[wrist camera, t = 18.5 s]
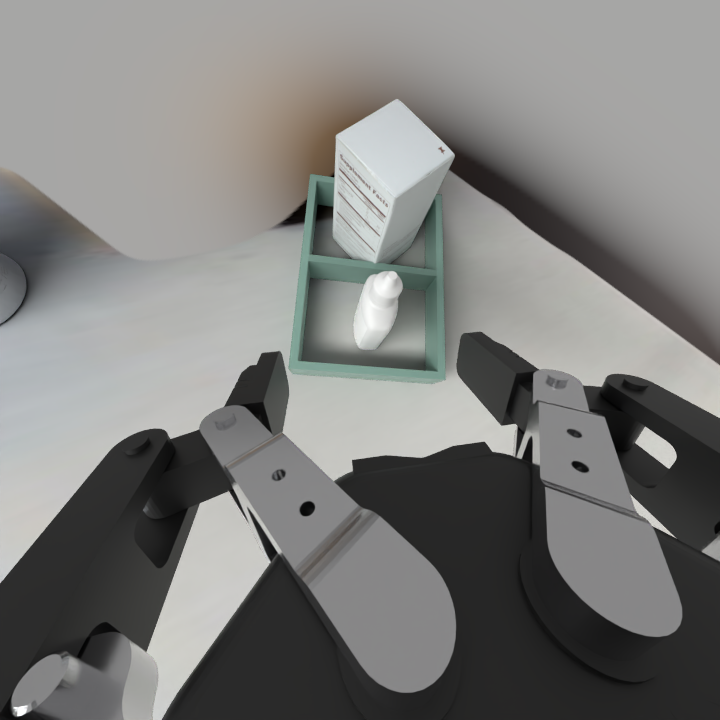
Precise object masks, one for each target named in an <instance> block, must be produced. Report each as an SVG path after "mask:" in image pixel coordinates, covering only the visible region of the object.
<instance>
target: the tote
mask: <svg viewBox="0 0 720 720" xmlns="http://www.w3.org/2000/svg"><path fill="white" fill-rule="evenodd" d="M334 181H335V178H333V177H327V176H320V175H314V174H310V182H309V190H308V199H307V208H306V217H305V226H304V234H303V243H302V252H301V261H300V270H299V279H298V288H297V297H296V306H295V315H294V323H293V332H292V341H291V350H290V359H289V370H290V371H291V373H292V374H298V375H313V376H327V377H341V378H355V379H370V380H384V381H398V382H412V383H427V384H433V383H437V382H440V381H443V380H446V379H445V330H444V280H443V230H442V195H440V194H436V196H435V198H434V200H433V202H432V204H431V206H430V208H429V210H428V212H427V214H426V216H425V218H424V220H425V268H417V267H409V266H400V265H392V264H384V263H376V264H375V263H373V262H368V261H360V260H352V259H344V258H336V257H328V256H319V255H312V253H313V243H314V233H315V223H316V214H317V204H319V205H325V206H332V207H334ZM384 271H394V272H396V273H397V275H398V276H399V277H400V279H401V281H402V285H403V288H406V289H415V290H424V291H425V357H426V371H423V370H409V369H396V368H383V367H370V366H357V365H344V364H331V363H318V362H304V361H302V351H303V341H304V331H305V321H306V312H307V302H308V292H309V282H310V278H318V279H327V280H336V281H344V282H353V283H362V284H365V282H366V280H367V279H368V277H369V276H370V275H373V274H379V273H380V272H384Z"/></svg>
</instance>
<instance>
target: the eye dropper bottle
mask: <svg viewBox="0 0 720 720" xmlns="http://www.w3.org/2000/svg"><path fill="white" fill-rule="evenodd" d="M402 289H403V285H402V281H401V279H400V277H399V276H398V275H397V273H396V272H394V271H384V272H380V273H379V274H373V275H370V276H369V277H368V279H367V280H366V282H365V284H364V287H363V290H362V293H361V296H360V300H359V303H358V306H357V310H356V313H355V317H354V323H353V332H354V337H355V341H356V344H357V346H358V347H359V348H360V349H362V350H375V349H377V348H378V346H379V345H380V344H381V342H382V341H383V340H384V339H385V337H386V336H387V334H388V333H389V332H390V330H391V328H392V327H393V324H394V322H395V319H396V316H397V311H398V297H399V295H400V294H401V292H402Z"/></svg>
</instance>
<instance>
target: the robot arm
mask: <svg viewBox="0 0 720 720" xmlns="http://www.w3.org/2000/svg"><path fill="white" fill-rule="evenodd" d="M25 292H26V278H25V275H24V272H23V270H22V269H21V267H20V266H19V264H17V263H16V262H15V261H14V260H13V259H11V258H9V257H7V256H5V255H4V254H2V253H0V324H1V323H3V322H4V321H6V320H7V319H8V318H9V317H10V316H11V315H12V314H14V312H15V311H16V310H17V309H18V307H19V306H20V305H21V303H22V301H23V299H24V297H25ZM457 372H458V375H459V377H460V378H461V379H462V381H463V382H464V383H465V384H466V385H467V386H468V387H469V389H470V390H471V391H472V392H473V393H474V394H475V396H476V397H477V398H478V399H479V400H480V401H481V403H482V404H483V405H484V406H485V407H486V408H487V409H488V411H489V412H490V413H491V414H492V415H493V416H494V418H495V419H496V420H497V421H498V422H499V423H500V425H501V426H502V425H509V424H516V425H517V427H516V430H515V436H514V447H513V456H511V455H507V454H502V453H496V452H492V451H491V449H490V448H489V447H488V445H487V444H486V443H485V442H479V443H472V444H465V445H457V446H452V447H450V448H447V449H445V450H442V451H440V452H437V453H435V454H432V455H430V456H427V457H424V458H414V457H400V456H378V457H371V458H364V459H357V460H352V465H353V471H352V472H350V473H347V474H345V475H343V476H342V477H340V478H338V479H337V480H335V481H333V480H332V479H331V478H329V477H328V476H327V475H326V474H325V473H324V472H323V471H322V470H321V469H320V468H319V467H318V466H317V465H316V464H315V463H314V462H313V461H312V460H311V459H310V458H309V457H307V456H306V455H305V454H304V453H303V452H302V451H301V450H300V449H299V448H298V447H297V446H296V445H295V444H294V443H293V442H292V441H291V440H290V439H289V438H288V437H287V436H285V435H284V434H283V433H282V431H283V426H284V420H285V415H286V409H287V403H288V398H289V385H288V380H287V375H286V371H285V366H284V361H283V357H282V354H281V352H280V351H278V352H268V353H262V354H261V356H260V358H259V361H258V363H257V365H252V366H249V367H248V368H247V369H246V370H244V371H243V372H242V373H241V375H240V377H239V379H238V382H237V383H236V385H235V388H234V389H233V391H232V393H231V395H230V397H229V399H228V401H227V402H226V404H225V406H224V407H223V408H220V409H218V410H215V411H214V412H212V413H210V414H209V415H208V416H206V417H205V418H204V419H203V421H202V422H201V424H200V427H199V430H197V431H194V432H191V433H188V434H185V435H182V436H179V437H176V438H173V439H170V438H169V436H168V434H167V432H166V431H165V430H162V429H149V430H144V431H141V432H138V433H136V434H133V435H131V436H129V437H127V438H126V439H124V440H122V441H121V442H119V443H118V444H117V445H116V446H114V447H113V448H112V449H111V450H110V451H109V453H108V454H107V455H106V456H105V457H104V459H103V460H102V461H101V462H100V464H99V465H98V466H97V467H96V468H95V470H94V471H93V472H92V473H91V474H90V476H89V477H88V478H87V479H86V480H85V482H84V483H83V484H82V485H81V487H80V488H79V489H78V490H77V491H76V493H75V494H74V495H73V496H72V497H71V499H70V500H69V501H68V502H67V503H66V505H65V506H64V507H63V508H62V509H61V511H60V512H59V513H58V514H57V516H56V517H55V518H54V519H53V520H52V522H51V523H50V524H49V525H48V526H47V528H46V529H45V530H44V531H43V532H42V534H41V535H40V536H39V537H38V539H37V540H36V541H35V542H34V543H33V545H32V546H31V547H30V548H29V549H28V551H27V552H26V553H25V554H24V555H23V557H22V558H21V559H20V560H19V562H18V563H17V564H16V565H15V566H14V568H13V569H12V570H11V571H10V572H9V574H8V575H7V576H6V577H5V578H4V580H3V581H2V582H1V583H0V720H153V716H152V715H153V705H154V700H155V695H156V690H157V685H158V668H157V664H156V662H155V660H154V658H153V657H152V656H150V655H149V654H148V653H147V649H148V646H149V643H150V640H151V638H152V635H153V632H154V629H155V627H156V624H157V621H158V618H159V615H160V613H161V610H162V607H163V604H164V602H165V599H166V596H167V593H168V590H169V588H170V585H171V582H172V579H173V577H174V574H175V571H176V568H177V565H178V563H179V560H180V557H181V554H182V552H183V549H184V546H185V543H186V540H187V538H188V535H189V532H190V529H191V527H192V524H193V521H194V518H195V515H196V513H197V510H198V507H199V504H200V503H201V502H204V501H206V500H209V499H211V498H213V497H216V496H218V495H221V494H223V493H225V492H228V493H229V495H230V496H231V498H232V500H233V501H234V503H235V505H236V506H237V508H238V510H239V511H240V513H241V515H242V516H243V518H244V520H245V521H246V523H247V525H248V526H249V528H250V530H251V531H252V533H253V535H254V537H255V539H256V541H257V543H258V545H259V546H260V548H261V550H262V552H263V554H264V556H265V558H266V559H267V561H268V563H269V566H268V567H267V568H266V570H265V571H264V573H263V574H262V575H261V577H260V578H259V580H258V581H257V582H256V584H255V585H254V587H253V588H252V589H251V591H250V592H249V594H248V595H247V596H246V598H245V599H244V601H243V602H242V603H241V605H240V606H239V608H238V609H237V610H236V612H235V613H234V615H233V616H232V617H231V619H230V620H229V622H228V623H227V624H226V626H225V627H224V629H223V630H222V631H221V633H220V634H219V636H218V637H217V638H216V640H215V641H214V643H213V644H212V645H211V647H210V648H209V650H208V651H207V652H206V654H205V655H204V657H203V658H202V659H201V661H200V662H199V664H198V665H197V666H196V668H195V669H194V671H193V672H192V673H191V675H190V676H189V678H188V679H187V680H186V682H185V683H184V685H183V686H182V688H181V689H180V690H179V692H178V693H177V695H176V697H175V698H174V700H173V701H172V703H171V704H170V706H169V708H168V710H167V711H166V713H165V715H164V717H163V719H162V720H720V418H718V417H716V416H714V415H713V414H711V413H709V412H707V411H705V410H703V409H701V408H699V407H698V406H696V405H694V404H692V403H690V402H688V401H686V400H684V399H683V398H681V397H679V396H677V395H675V394H673V393H671V392H669V391H668V390H666V389H664V388H662V387H660V386H658V385H656V384H654V383H652V382H650V381H648V380H645V379H642V378H639V377H635V376H631V375H625V374H612V375H609V376H607V377H606V379H605V382H604V384H603V386H602V387H596V386H583V385H582V383H581V382H580V381H579V380H578V379H577V378H575V377H574V376H572V375H569V374H567V373H564V372H561V371H556V370H549V369H544V370H539V369H537V368H536V367H534V366H533V365H532V364H530V363H529V362H527V361H526V360H524V359H523V358H522V357H519V355H517V354H516V353H514V352H513V351H512V350H510V349H509V348H507V347H506V346H504V345H502V344H499V343H497V342H495V341H493V340H492V339H491V338H489V337H488V336H486V335H485V334H484V333H482V332H473V333H464V334H463V335H462V336H461V339H460V345H459V352H458V358H457ZM645 426H646V427H647V428H649V429H650V430H651V431H653V432H654V433H656V434H657V435H659V436H660V437H662V438H663V439H665V440H666V441H667V442H669V443H670V444H671V445H672V446H673V448H674V449H675V451H676V454H677V459H676V461H675V463H674V464H673V465H672V466H671V468H670V469H668V468H667V467H665V466H664V465H663V464H662V463H660V462H659V461H658V460H656V459H655V458H654V457H652V456H651V455H650V454H649V453H647V452H646V451H645V450H643V449H642V448H641V447H639V446H638V445H637V444H635V442H636V440H637V438H638V437H639V435H640V434H641V432H642V431H643V429H644V427H645ZM630 494H631V495H632V496H633V497H634V498H635V499H636V500H637V501H638V502H639V503H640V504H641V505H642V506H643V507H644V508H646V509H647V510H648V511H649V512H650V513H651V514H652V515H653V516H654V517H655V518H656V519H657V520H658V521H659V522H660V523H661V524H662V525H663V526H664V527H665V528H666V529H667V530H669V531H670V532H671V533H672V534H673V535H674V536H675V537H676V538H677V539H676V538H674V537H672V536H670V535H668V534H666V533H665V532H663V531H661V530H659V529H657V528H655V527H653V526H652V525H651V524H650V523H649V521H648V520H646V519H645V518H643V517H641V516H640V515H639V514H638V513H637V512H636V510H635V508H634V505H633V502H632V499H631V496H630Z"/></svg>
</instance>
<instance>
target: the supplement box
mask: <svg viewBox="0 0 720 720" xmlns="http://www.w3.org/2000/svg"><path fill="white" fill-rule="evenodd" d="M454 157H455V155H454V153H453V152H452V151H451V150H450V149H449V148H448V147H447V146H446V145H445V144H444V143H443V142H442V141H441V140H440V139H439V138H438V137H437V136H436V135H435V134H434V133H433V132H432V131H431V130H430V129H429V128H428V127H427V126H426V125H425V124H424V123H423V122H422V121H421V120H420V119H418V117H417V116H416V115H415V114H413V113H412V112H411V111H410V110H409V109H408V108H407V107H406V106H405V105H404V104H403V103H402V102H401V101H400V100H398V99H396V100H394V101H392V102H391V103H389V104H387V105H386V106H384V107H383V108H381V109H379V110H378V111H376V112H374V113H372V114H371V115H370V116H367V117H366V118H364V119H362V120H361V121H359V122H357V123H356V124H354V125H352V126H351V127H349V128H347V129H345V130H344V131H342V132H340V133H339V134H337V135H336V154H335V181H334V209H333V239H334V240H335V241H336V242H337V243H338V244H339V245H340V246H341V247H342V248H343V250H344V251H345V252H346V253H347V254H348V255H349V256H350V257H351V258H352V259H353V260H360V261H368V262H373V263H375V264H376V263H384V264H390V263H391V262H393V261H394V260H395V259H396V258H398V257H399V256H400V255H401V254H403V253H404V252H405V251H406V250H408V249H409V248H410V246H411V244H412V242H413V240H414V238H415V236H416V234H417V232H418V230H419V228H420V226H421V224H422V222H423V220H424V218H425V216H426V214H427V212H428V210H429V208H430V206H431V204H432V202H433V200H434V198H435V196H436V194H437V192H438V189H439V187H440V185H441V183H442V181H443V179H444V177H445V175H446V173H447V171H448V169H449V167H450V165H451V163H452V161H453V159H454Z"/></svg>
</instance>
